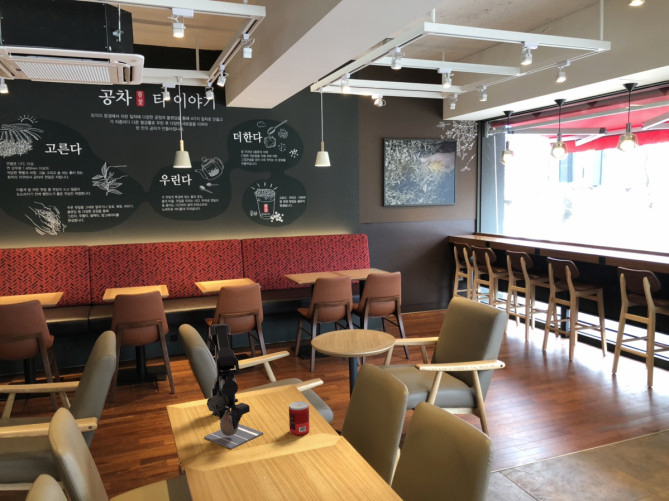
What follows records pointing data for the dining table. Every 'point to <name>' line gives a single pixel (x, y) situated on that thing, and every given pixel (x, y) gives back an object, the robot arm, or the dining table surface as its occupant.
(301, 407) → the canned food
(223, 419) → the vase
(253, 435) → the mat
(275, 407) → the dining table surface
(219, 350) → the robot arm
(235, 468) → the dining table surface
